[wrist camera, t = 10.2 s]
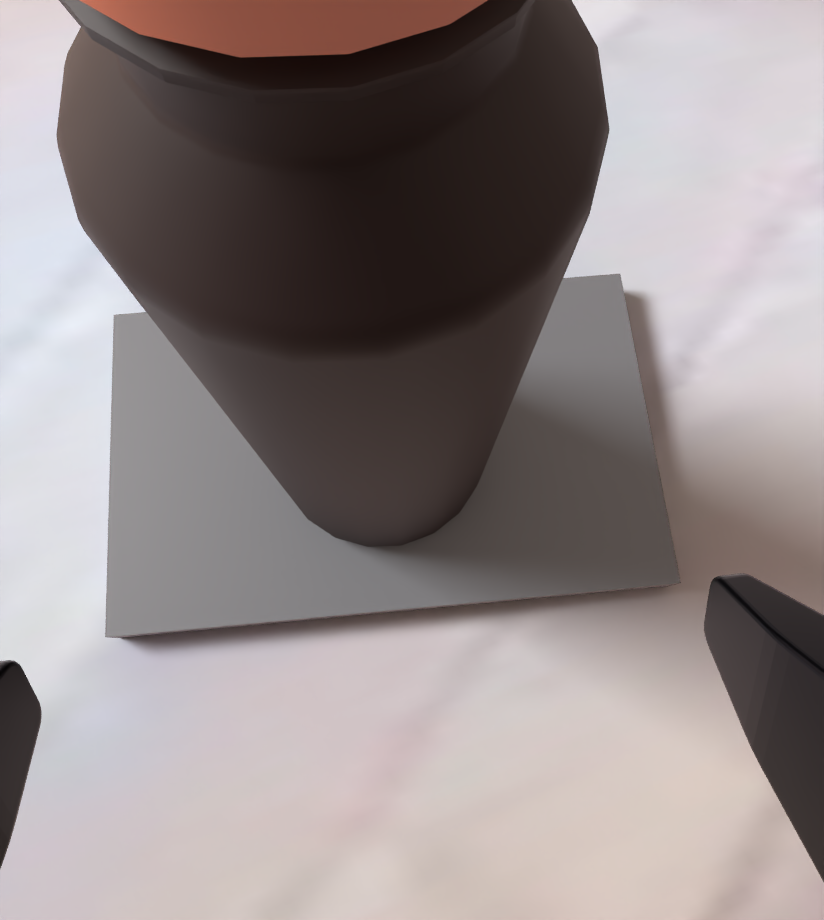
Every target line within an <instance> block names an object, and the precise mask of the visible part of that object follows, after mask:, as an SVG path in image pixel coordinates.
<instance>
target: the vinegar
mask: <svg viewBox="0 0 824 920" xmlns="http://www.w3.org/2000/svg"><path fill="white" fill-rule="evenodd" d="M59 1H60V2H61V3H62V4H63V6H64V7H65V8H66V9H67V10H68V12H69V13H70V14H71V15H72V16H73V18H74V19H75V20H76V21H77V22H78V24H79V25H80V26H81V28H80V30H79V32H78V34H77V36H76V38H75V40H74V42H73V44H72V46H71V48H70V50H69V52H68V54H67V58H66V61H65V66H64V75H63V84H62V92H61V101H60V110H59V118H58V127H57V142H58V149H59V152H60V156H61V159H62V163H63V166H64V170H65V174H66V177H67V181H68V184H69V188H70V192H71V195H72V199H73V202H74V206H75V210H76V213H77V217H78V220H79V222H80V224H81V226H82V227H83V229H84V231H85V232H86V234H87V235H88V236H89V238H90V239H91V240H92V242H93V243H94V244H95V246H96V247H97V248H98V249H99V251H100V252H101V253H102V255H103V256H104V257H105V259H106V260H107V261H108V263H109V264H110V265H111V267H112V268H113V269H114V270H115V272H116V273H117V274H118V276H119V277H120V278H121V280H122V281H123V282H124V284H125V285H126V286H127V288H128V289H129V290H130V292H131V293H132V294H133V295H134V297H135V298H136V299H137V301H138V302H139V303H140V304H141V306H142V307H143V308H144V310H145V311H146V312H147V313H148V315H149V316H150V317H151V319H152V320H153V321H154V322H155V324H156V325H157V326H158V328H159V329H160V330H161V331H162V333H163V334H164V335H165V337H166V338H167V339H168V340H169V342H170V343H171V344H172V346H173V347H174V348H175V349H176V351H177V352H178V353H179V355H180V356H181V357H182V358H183V360H184V361H185V362H186V364H187V365H188V366H189V367H190V369H191V370H192V371H193V373H194V374H195V375H196V376H197V378H198V379H199V380H200V381H201V383H202V384H203V385H204V387H205V388H206V389H207V390H208V392H209V393H210V394H211V396H212V397H213V398H214V399H215V401H216V402H217V403H218V405H219V406H220V407H221V408H222V410H223V411H224V412H225V414H226V415H227V416H228V417H229V419H230V420H231V421H232V423H233V424H234V425H235V426H236V428H237V429H238V430H239V432H240V433H241V434H242V435H243V437H244V438H245V439H246V441H247V442H248V443H249V444H250V446H251V447H252V448H253V450H254V451H255V452H256V453H257V455H258V456H259V457H260V459H261V460H262V461H263V462H264V464H265V465H266V466H267V468H268V469H269V470H270V471H271V473H272V474H273V475H274V477H275V478H276V479H277V480H278V482H279V483H280V484H281V486H282V487H283V488H284V489H285V491H286V492H287V493H288V495H289V496H290V497H291V498H292V500H293V501H294V502H295V504H296V505H297V506H298V507H299V509H300V510H301V511H302V513H303V514H304V515H305V516H306V518H307V519H308V520H310V521H311V522H313V523H314V524H315V525H317V526H318V527H320V528H321V529H323V530H324V531H326V532H327V533H329V534H330V535H332V536H333V537H335V538H338V539H341V540H345V541H349V542H352V543H356V544H359V545H363V546H366V547H376V546H400V545H404V544H407V543H410V542H412V541H415V540H418V539H420V538H423V537H426V536H428V535H431V534H434V533H435V532H436V531H437V530H439V529H440V528H441V527H442V526H444V525H445V524H446V523H447V522H449V521H450V520H451V519H452V518H454V517H455V516H456V515H458V514H459V513H460V511H461V510H462V508H463V507H464V505H465V504H466V502H467V501H468V499H469V498H470V496H471V495H472V493H473V492H474V490H475V488H476V487H477V485H478V483H479V480H480V478H481V476H482V473H483V471H484V468H485V466H486V463H487V461H488V459H489V456H490V454H491V451H492V449H493V446H494V444H495V442H496V439H497V437H498V434H499V432H500V429H501V427H502V425H503V422H504V420H505V417H506V415H507V412H508V410H509V408H510V405H511V403H512V400H513V398H514V395H515V393H516V391H517V388H518V386H519V383H520V381H521V378H522V376H523V374H524V371H525V369H526V366H527V364H528V362H529V359H530V357H531V354H532V352H533V349H534V347H535V345H536V342H537V340H538V337H539V335H540V332H541V330H542V328H543V325H544V323H545V320H546V318H547V315H548V313H549V311H550V308H551V306H552V303H553V301H554V298H555V296H556V294H557V291H558V289H559V286H560V284H561V281H562V279H563V277H564V274H565V272H566V269H567V267H568V265H569V262H570V260H571V257H572V255H573V252H574V250H575V248H576V245H577V243H578V240H579V238H580V235H581V233H582V231H583V228H584V226H585V223H586V221H587V218H588V216H589V214H590V210H591V205H592V201H593V197H594V193H595V189H596V185H597V180H598V176H599V172H600V168H601V164H602V160H603V156H604V151H605V147H606V143H607V139H608V134H609V123H608V116H607V109H606V102H605V95H604V88H603V81H602V74H601V67H600V60H599V53H598V47H597V45H596V44H595V42H594V40H593V38H592V36H591V35H590V33H589V31H588V29H587V27H586V26H585V24H584V22H583V20H582V18H581V17H580V15H579V13H578V11H577V9H576V7H575V6H574V4H573V2H572V0H59Z"/></svg>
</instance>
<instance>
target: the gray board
mask: <svg viewBox="0 0 824 920" xmlns="http://www.w3.org/2000/svg"><path fill="white" fill-rule="evenodd" d="M678 583H681V582H680V577H679V572H678V567H677V562H676V557H675V552H674V547H673V541H672V536H671V531H670V526H669V521H668V516H667V511H666V506H665V501H664V495H663V490H662V485H661V480H660V475H659V470H658V465H657V460H656V455H655V449H654V444H653V439H652V434H651V429H650V424H649V419H648V414H647V409H646V403H645V398H644V393H643V388H642V383H641V378H640V373H639V368H638V363H637V357H636V352H635V347H634V342H633V337H632V332H631V327H630V322H629V316H628V311H627V306H626V301H625V296H624V291H623V286H622V281H621V276H620V274H610V275H598V276H586V277H574V278H563V279H562V281H561V284H560V286H559V289H558V291H557V294H556V296H555V298H554V301H553V303H552V306H551V308H550V311H549V313H548V315H547V318H546V320H545V323H544V325H543V328H542V330H541V332H540V335H539V337H538V340H537V342H536V345H535V347H534V349H533V352H532V354H531V357H530V359H529V362H528V364H527V366H526V369H525V371H524V374H523V376H522V378H521V381H520V383H519V386H518V388H517V391H516V393H515V395H514V398H513V400H512V403H511V405H510V408H509V410H508V412H507V415H506V417H505V420H504V422H503V425H502V427H501V429H500V432H499V434H498V437H497V439H496V442H495V444H494V446H493V449H492V451H491V454H490V456H489V459H488V461H487V463H486V466H485V468H484V471H483V473H482V476H481V478H480V480H479V483H478V485H477V487H476V488H475V490H474V492H473V493H472V495H471V496H470V498H469V499H468V501H467V502H466V504H465V505H464V507H463V508H462V510H461V511H460V513H459V514H458V515H456V516H455V517H454V518H452V519H451V520H450V521H449V522H447V523H446V524H445V525H444V526H442V527H441V528H440V529H439V530H437V531H436V532H435V533H434V534H431V535H428V536H426V537H423V538H420V539H418V540H415V541H412V542H410V543H407V544H404V545H400V546H376V547H366V546H363V545H359V544H356V543H352V542H349V541H345V540H341V539H338V538H335V537H333V536H332V535H330V534H329V533H327V532H326V531H324V530H323V529H321V528H320V527H318V526H317V525H315V524H314V523H313V522H311V521H310V520H308V519H307V518H306V516H305V515H304V514H303V513H302V511H301V510H300V509H299V507H298V506H297V505H296V504H295V502H294V501H293V500H292V498H291V497H290V496H289V495H288V493H287V492H286V491H285V489H284V488H283V487H282V486H281V484H280V483H279V482H278V480H277V479H276V478H275V477H274V475H273V474H272V473H271V471H270V470H269V469H268V468H267V466H266V465H265V464H264V462H263V461H262V460H261V459H260V457H259V456H258V455H257V453H256V452H255V451H254V450H253V448H252V447H251V446H250V444H249V443H248V442H247V441H246V439H245V438H244V437H243V435H242V434H241V433H240V432H239V430H238V429H237V428H236V426H235V425H234V424H233V423H232V421H231V420H230V419H229V417H228V416H227V415H226V414H225V412H224V411H223V410H222V408H221V407H220V406H219V405H218V403H217V402H216V401H215V399H214V398H213V397H212V396H211V394H210V393H209V392H208V390H207V389H206V388H205V387H204V385H203V384H202V383H201V381H200V380H199V379H198V378H197V376H196V375H195V374H194V373H193V371H192V370H191V369H190V367H189V366H188V365H187V364H186V362H185V361H184V360H183V358H182V357H181V356H180V355H179V353H178V352H177V351H176V349H175V348H174V347H173V346H172V344H171V343H170V342H169V340H168V339H167V338H166V337H165V335H164V334H163V333H162V331H161V330H160V329H159V328H158V326H157V325H156V324H155V322H154V321H153V320H152V319H151V317H150V316H149V315H148V313H147V312H143V313H131V314H119V315H114V330H113V367H112V405H111V443H110V481H109V518H108V556H107V594H106V632H105V637H112V638H122V637H132V636H143V635H154V634H164V633H175V632H185V631H196V630H206V629H217V628H228V627H238V626H249V625H259V624H270V623H280V622H291V621H302V620H312V619H323V618H333V617H344V616H354V615H365V614H376V613H386V612H397V611H407V610H418V609H428V608H439V607H450V606H460V605H471V604H481V603H492V602H502V601H513V600H524V599H534V598H545V597H555V596H566V595H576V594H587V593H598V592H608V591H619V590H629V589H640V588H650V587H661V586H670V585H674V584H678Z"/></svg>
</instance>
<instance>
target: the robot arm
mask: <svg viewBox="0 0 824 920" xmlns="http://www.w3.org/2000/svg"><path fill="white" fill-rule="evenodd" d="M704 631H705V637H706V641H707V643H708V646H709V648H710V651H711V653H712V655H713V658H714V660H715V663H716V665H717V668H718V670H719V672H720V675H721V677H722V680H723V682H724V684H725V687H726V689H727V692H728V694H729V696H730V699H731V701H732V704H733V706H734V709H735V711H736V713H737V716H738V718H739V721H740V723H741V725H742V728H743V730H744V733H745V735H746V737H747V739H748V742H749V744H750V746H751V748H752V750H753V752H754V754H755V756H756V758H757V760H758V762H759V764H760V766H761V768H762V770H763V771H764V773H765V775H766V777H767V779H768V781H769V782H770V784H771V786H772V788H773V790H774V792H775V793H776V795H777V797H778V799H779V801H780V803H781V804H782V806H783V808H784V810H785V812H786V814H787V815H788V817H789V819H790V821H791V823H792V825H793V826H794V828H795V830H796V832H797V834H798V836H799V837H800V839H801V841H802V843H803V845H804V847H805V848H806V850H807V852H808V854H809V856H810V858H811V859H812V861H813V863H814V865H815V867H816V869H817V870H818V872H819V874H820V876H821V878H822V880H823V881H824V615H822V614H821V613H819V612H817V611H815V610H813V609H811V608H809V607H808V606H806V605H804V604H802V603H800V602H798V601H797V600H795V599H793V598H791V597H789V596H787V595H786V594H784V593H782V592H780V591H778V590H776V589H775V588H773V587H771V586H769V585H767V584H765V583H763V582H762V581H760V580H758V579H756V578H754V577H752V576H750V575H748V574H741V573H740V574H732V575H723V576H718V577H716V578H714V579H713V580H712V582H711V585H710V590H709V596H708V602H707V608H706V615H705V621H704ZM40 724H41V707H40V703H39V701H38V699H37V697H36V695H35V693H34V691H33V689H32V687H31V685H30V683H29V681H28V679H27V677H26V675H25V673H24V671H23V669H22V668H21V666H20V665H19V664H18V663H17V662H15V661H11V660H7V661H0V868H1V866H2V863H3V860H4V857H5V854H6V851H7V848H8V845H9V842H10V839H11V836H12V832H13V829H14V825H15V822H16V818H17V814H18V810H19V806H20V802H21V798H22V795H23V791H24V787H25V783H26V779H27V775H28V771H29V767H30V763H31V759H32V755H33V751H34V748H35V744H36V740H37V736H38V732H39V728H40Z"/></svg>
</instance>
